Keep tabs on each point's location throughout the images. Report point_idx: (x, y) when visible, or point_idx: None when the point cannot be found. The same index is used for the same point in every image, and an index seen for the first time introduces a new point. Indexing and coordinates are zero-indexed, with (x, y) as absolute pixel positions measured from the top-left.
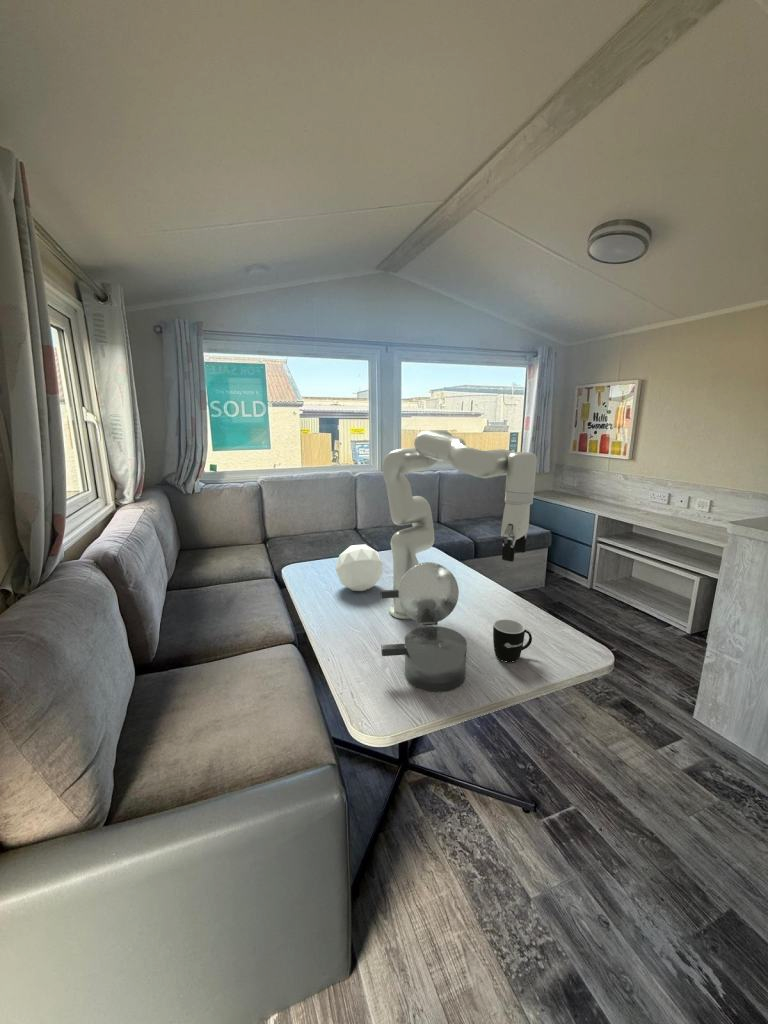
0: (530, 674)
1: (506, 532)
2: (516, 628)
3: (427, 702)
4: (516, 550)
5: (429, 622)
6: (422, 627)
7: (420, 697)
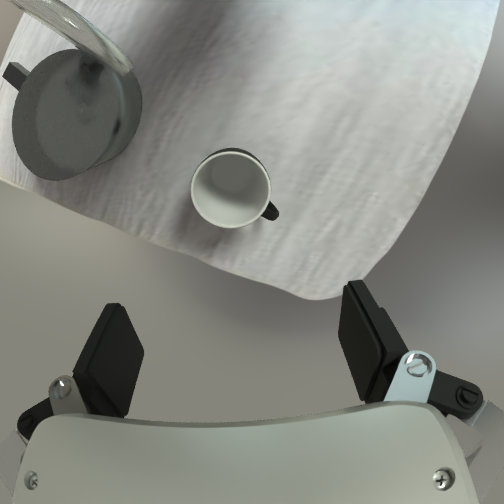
0: (208, 230)
1: (10, 483)
2: (265, 191)
3: None
4: (344, 299)
5: (88, 54)
6: (80, 51)
7: None
